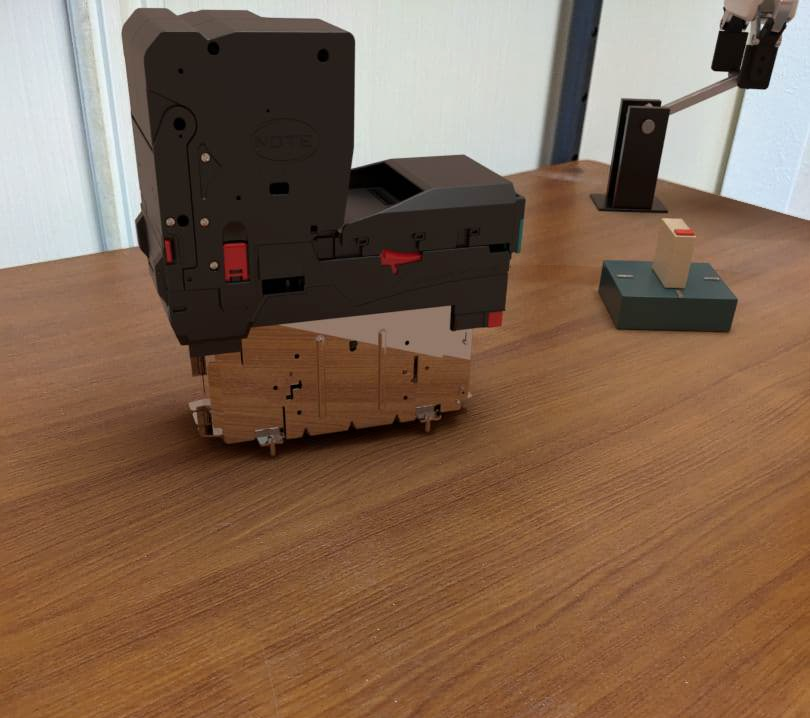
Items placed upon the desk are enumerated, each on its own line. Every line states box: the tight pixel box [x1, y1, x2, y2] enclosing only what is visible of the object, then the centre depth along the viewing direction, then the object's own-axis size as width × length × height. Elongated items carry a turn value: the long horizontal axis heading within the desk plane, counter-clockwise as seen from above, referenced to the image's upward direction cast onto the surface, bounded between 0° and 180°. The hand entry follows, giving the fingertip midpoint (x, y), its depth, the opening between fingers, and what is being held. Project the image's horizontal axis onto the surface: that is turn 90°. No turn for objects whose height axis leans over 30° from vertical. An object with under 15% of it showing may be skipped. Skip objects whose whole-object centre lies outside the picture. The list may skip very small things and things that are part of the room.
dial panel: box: [598, 259, 739, 333], centre depth 83 cm, size 10×9×3 cm
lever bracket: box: [589, 97, 670, 214], centre depth 105 cm, size 8×6×12 cm
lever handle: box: [626, 67, 741, 118], centre depth 101 cm, size 13×6×2 cm, turn 90°
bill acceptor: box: [120, 7, 527, 457], centre depth 59 cm, size 10×23×25 cm, turn 110°
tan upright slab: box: [652, 217, 697, 288], centre depth 81 cm, size 5×2×5 cm, turn 0°
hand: (737, 79), depth 100 cm, fingers open, 9 cm apart
